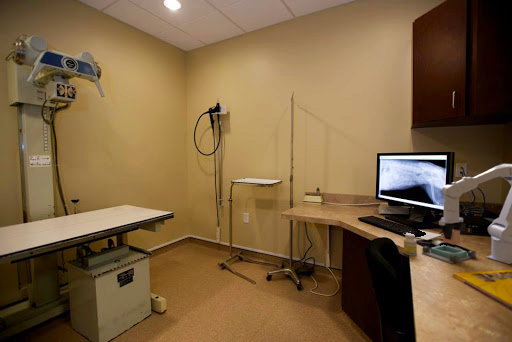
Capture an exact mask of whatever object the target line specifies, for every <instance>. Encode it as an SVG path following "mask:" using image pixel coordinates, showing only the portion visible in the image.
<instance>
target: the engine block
mask: <svg viewBox="0 0 512 342" xmlns="http://www.w3.org/2000/svg"><path fill="white" fill-rule="evenodd" d="M442 235H443V237H442V239H443V240H442V242H443V243H446V244H447V243H448V244H451V245H453V246H454V245H458V244H460V243H461V230H460V231H459V230H455V229H453V231H452V236H451V240H449V239H445V237H444V233H443V232H442Z"/></svg>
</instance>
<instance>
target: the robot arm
mask: <svg viewBox="0 0 512 342" xmlns="http://www.w3.org/2000/svg"><path fill="white" fill-rule="evenodd" d="M498 177H501V178H503V179H504V180H506V181H507V182H508V183H509V185H510V186H511V187H510V189H509V192H508V194H507V196H506V199H505V201H504V203H503V207H502V209H501V211H500V214H499V217H497V218H495V219H493V221H492V223H491V224H490V225H489V226H488V227H487V232H488V234H489V235H490V238H491V254H490V255H488V256H486V258H487V259H491V260H494V261H497V262H501V263H504V264H508V265H509V264H510V265H511V264H512V163H500V164H499V165H496V166H494V167H492V168H490V169H488V170H486V171H484V172H482V173H479V174H478V175H476V176H474V177H471V176H463V177H461V179H460V180H458V181H453V182H451V184H445V185H443V187H441V190H440V193H441V195H442V196H443V217H441V218H440V220H438V223H439V224H438V225H439V228H441V231H442V234H443V233H444V237H445V239H449V240H451V236H452V231H453V229H455V230H459V231H460V232H461V229H462V228H463V226H464V225H465V224H464V223H463V222H464V218H463V217H460V197H462V195H463V194H465V193H468V192H469V191H472V190H474V189H477V188H478V185H479V184H481V183H484V182H487V181H490V180H493V179H494V178H498Z"/></svg>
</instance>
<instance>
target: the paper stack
mask: <svg viewBox="0 0 512 342" xmlns="http://www.w3.org/2000/svg"><path fill="white" fill-rule="evenodd" d="M419 230H420V231H422V232H425V233H426V235H424V236H421V237H416V238H417V239H418V238H419V239H422V240H426V241H429V240H431V239H434V238H439V237H440V236H441V237H442V234H440V233H435V232H432V231H431V232H429V231H427V230H422V229H419Z"/></svg>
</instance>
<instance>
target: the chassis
mask: <svg viewBox="0 0 512 342" xmlns="http://www.w3.org/2000/svg"><path fill="white" fill-rule="evenodd" d="M421 254H423V255H425V256H428V257H431V258H433V259H436V260H439V261H442V262H445V263H448V264H450V265H452V264H458V262H459V263H460V262H463V261H467V260H470V259H476V257H477V253H476V251H474V250H468V251H467V250H463V249H460V248H456V247H453V246H450V245H447V246H446V245H444V244H443V245H441V246H440V245H437V246H434V247H433V246H432V247H429V246H426V245H424V246H423V247H422V252H421Z"/></svg>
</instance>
